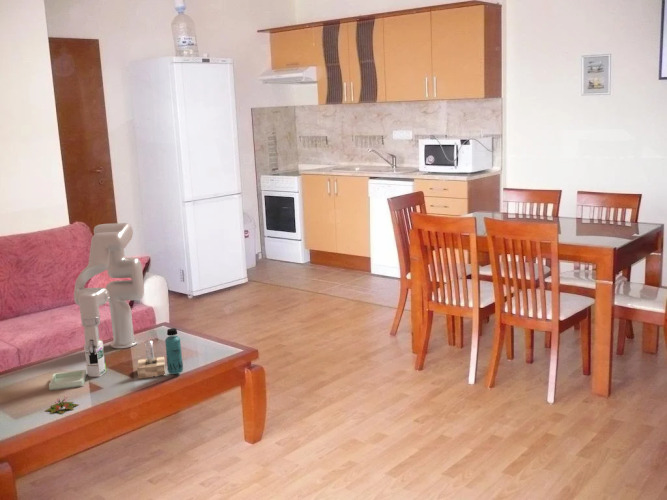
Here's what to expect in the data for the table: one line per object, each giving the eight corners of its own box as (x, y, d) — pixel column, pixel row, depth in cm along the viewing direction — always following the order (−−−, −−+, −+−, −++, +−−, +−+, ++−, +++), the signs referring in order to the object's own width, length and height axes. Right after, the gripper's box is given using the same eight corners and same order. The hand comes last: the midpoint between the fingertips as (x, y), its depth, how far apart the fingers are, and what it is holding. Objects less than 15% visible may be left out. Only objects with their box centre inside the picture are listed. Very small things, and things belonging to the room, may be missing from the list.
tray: (54, 379, 295) (53, 373, 295) (86, 375, 298) (85, 369, 297) (49, 390, 283) (48, 384, 282) (82, 386, 286) (82, 380, 285)
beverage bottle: (164, 375, 294) (160, 329, 290) (178, 370, 299) (173, 325, 295) (173, 378, 289) (169, 332, 285) (187, 373, 294) (182, 328, 290)
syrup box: (100, 377, 295) (96, 344, 292) (87, 376, 296) (83, 344, 293) (107, 371, 301) (103, 340, 298) (94, 371, 302) (90, 339, 299)
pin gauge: (148, 371, 299) (144, 340, 296) (155, 370, 300) (152, 339, 297) (148, 374, 296) (144, 342, 293) (155, 373, 296) (152, 341, 294)
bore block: (139, 369, 302) (138, 359, 301) (165, 366, 304) (164, 356, 303) (138, 378, 291) (137, 368, 290) (165, 375, 293) (164, 365, 293)
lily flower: (38, 413, 262) (36, 402, 262) (62, 401, 273) (61, 390, 272) (61, 418, 257) (60, 406, 256) (85, 405, 268) (84, 394, 267)
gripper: (83, 316, 301) (88, 354, 304) (78, 327, 284) (83, 367, 288) (102, 314, 303) (106, 352, 306) (98, 325, 286) (102, 365, 289)
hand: (95, 359), depth 297 cm, fingers open, 9 cm apart
